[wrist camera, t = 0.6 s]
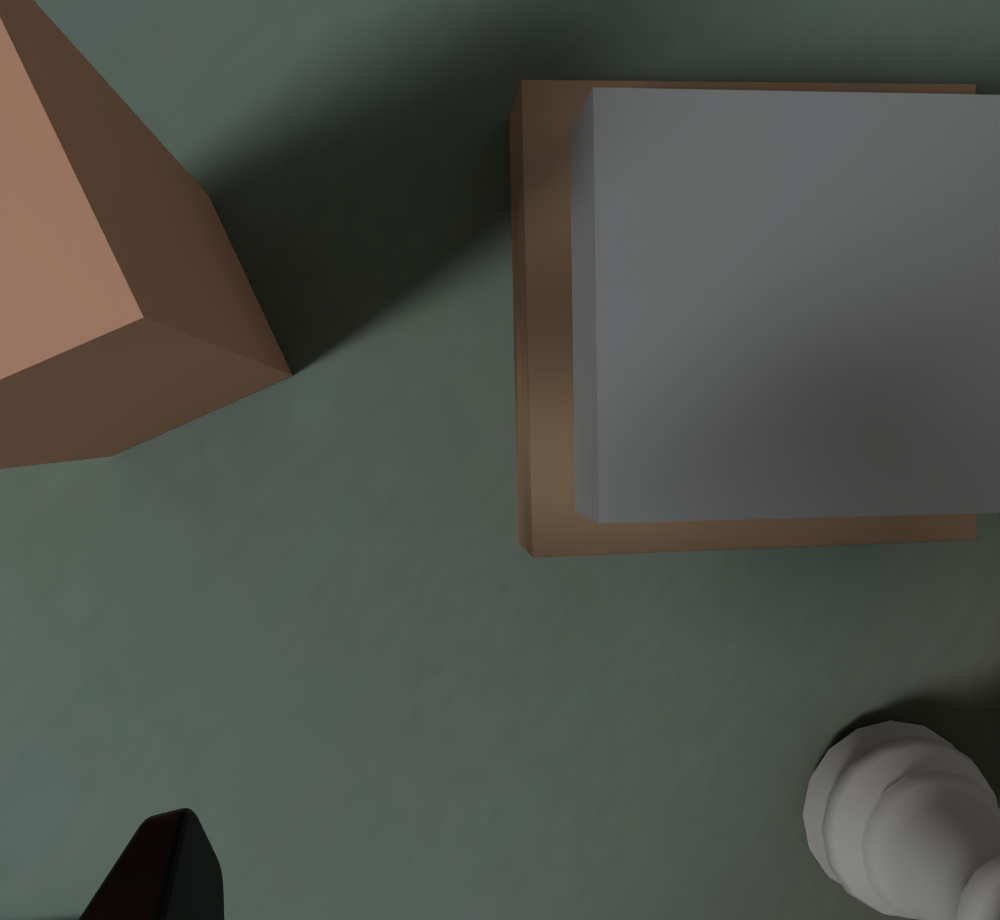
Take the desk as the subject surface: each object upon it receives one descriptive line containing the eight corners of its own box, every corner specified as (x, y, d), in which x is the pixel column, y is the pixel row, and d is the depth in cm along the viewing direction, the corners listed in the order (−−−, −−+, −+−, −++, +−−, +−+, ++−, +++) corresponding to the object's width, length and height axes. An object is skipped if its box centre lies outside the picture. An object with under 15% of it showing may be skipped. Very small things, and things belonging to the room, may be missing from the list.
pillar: (292, 375, 21) (143, 317, 10) (111, 456, 21) (-278, 500, 9) (208, 195, 21) (-57, -100, 9) (23, 274, 21) (-501, 75, 9)
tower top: (932, 502, 20) (1004, 512, 18) (574, 511, 20) (598, 523, 17) (933, 136, 20) (1005, 95, 18) (570, 130, 19) (592, 87, 17)
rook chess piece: (927, 685, 23) (1194, 822, 15) (989, 842, 24) (1283, 1056, 16) (767, 759, 23) (956, 939, 15) (833, 918, 23) (1052, 1175, 15)
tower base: (905, 524, 24) (977, 539, 21) (516, 539, 23) (532, 557, 20) (903, 127, 23) (976, 84, 20) (506, 125, 22) (521, 79, 19)
